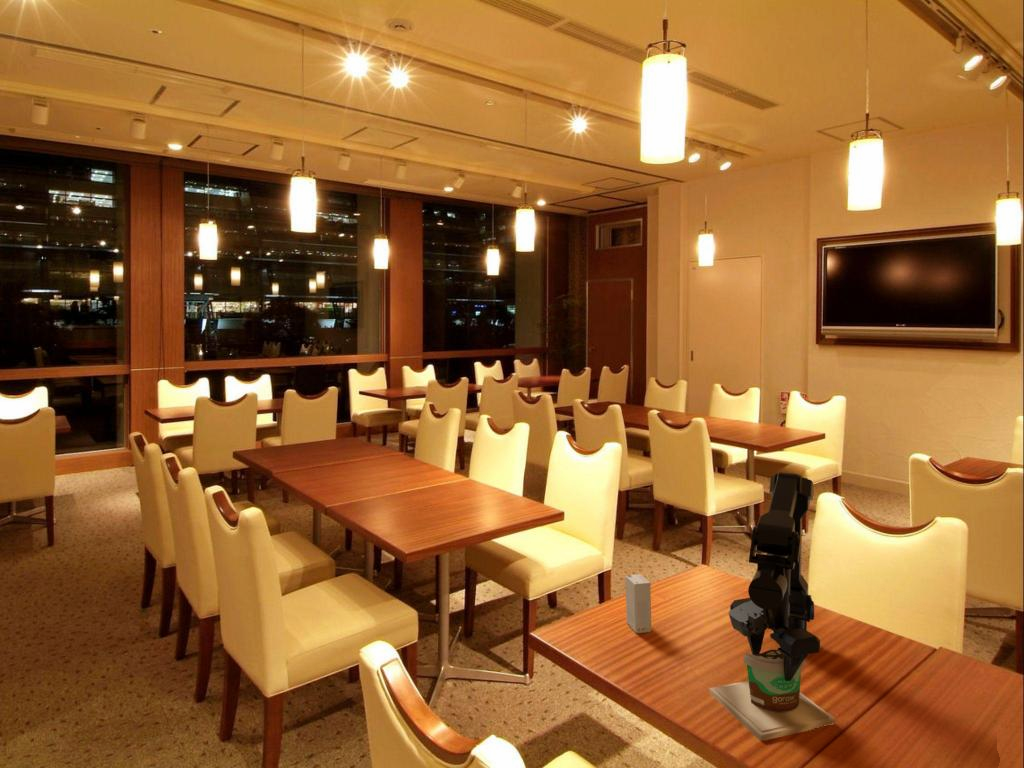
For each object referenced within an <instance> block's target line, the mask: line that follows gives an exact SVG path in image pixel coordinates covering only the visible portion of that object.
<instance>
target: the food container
mask: <svg viewBox="0 0 1024 768" xmlns="http://www.w3.org/2000/svg"><path fill="white" fill-rule="evenodd" d="M743 664H744V665H746V671H747V678H748V679H747V681H749V688H750V697H751V703H752V704H754V705H756V706H758V707H761V708H763V709H767V710H771V711H790V710H793V709H795V708H797V707H798V705H799V695H800V693H801V691H800V690H801V680H802V679H801V678H802V668H803V667H805V665H806V659H805V660H804V661H803V662H802V664H801V665H800V667H799V668H798V670H797V672H796V673H795V675H794V676H793V678H792V680H791V681H786V680H785V676H784V659H783V654H782V653H781V652H780V651H779V650H778V649H768V650H767V651H763V652H760V654H757V655H752V653H749V652H747V651H745V653H744V656H743Z"/></svg>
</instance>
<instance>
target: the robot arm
mask: <svg viewBox="0 0 1024 768" xmlns="http://www.w3.org/2000/svg"><path fill="white" fill-rule="evenodd" d="M769 481H770V482H769V490H768V491H769V495H770V496H772V497H771V500H770V504H769V508H768V511H767V512H766V513H764V514H762V515H760V516H759V518H758V520H757V524H756V526H755V525H754V526H753V528H752V533H751V542H750V550H749V556H748V563H751V564H756V565H757V566H756V567H757V569H756V571H755V573H754V576H753V578H752V579H751V581H750V583H749V586H748V588H747V592H748V597H746V598H741V599H740V598H739V599H734V600H733V601H732V602H731V604H730V606H729V607H730V608H729V609H730V610H729V611H728V613H727V614H728V616H729V620H730V623H731V626H732V628H733V630H735V631H737V632H739V633H740V634H741V635H742V636H743V637H746V638H747V641H748V644H749V647H750V650H751V654H752V655H757V654H761V650H762V647H763V646H762V645H763V642H764V638H765V633H766V630H767V629H768V630H771V631H773V632H772V633H770V634H769V636H770V637H771V638H772V639H774V640H775V641H777V643H778V645H779V647H777V650H779V651H780V652H781V653H782V654H783V659H784V676H785V680H786V681H791V680H792V678H793V676H794V675H795V673H796V672H797V670H798V668H799V667H800V665H801V664H802V662H803V661H804V660H805V661H806V658H807V657H808V656H809V655H813V654H815V653H820V652H821V651H820V650H821V639H820V638H819V637H818V636H816V635H815V634H813V633H812V632H810V631H808V630H807V625H808V623H809V622H810V623H811V621H813V620H815V602H814V601H813V598H812V594H809V583H808V582H807V580H806V579H805V577H804V576H803V575H802V547H803V545H802V543H803V542H802V539H803V538H802V537H803V536H802V535H803V517H804V516H805V514H806V513H807V512H808V511H809V507H810V505H811V504H810V503H811V501H813V500H814V491H815V489H814V488H815V485H814V482H813V480H811V479H809V478H808V477H803V476H802V475H800V474H799V473H795V472H794V473H793V472H792V473H791V472H783V471H780V472H776V473H775V475H771V476H770V480H769ZM756 551H757V552H759V553H756ZM763 553H764V554H763Z"/></svg>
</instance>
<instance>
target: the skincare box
mask: <svg viewBox="0 0 1024 768" xmlns="http://www.w3.org/2000/svg"><path fill="white" fill-rule="evenodd" d="M651 584H652V583H651V582H650V581H649V580H648V579H647V578H645V577H644V576H643V575H642V574H640V573H639V574H630V575H625V605H626V607H625V609H626V610H625V611H626V612H625V613H626V614H625V615H626V624H627V625H628V624H629V625H628V626H629V627H630V628H631V629H632V630H633V632H634V633H635V634H643V633H651V632H652V601H651V600H652V599H651V597H652V595H651V594H652V593H651V591H652V590H651Z"/></svg>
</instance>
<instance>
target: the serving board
mask: <svg viewBox="0 0 1024 768" xmlns="http://www.w3.org/2000/svg"><path fill="white" fill-rule="evenodd" d="M708 693H709V695H711V696H712V697H713V698H714V699H715V700H716V701H717V702H718V703H719V704H720V705H721V706H723V708H725V709H726V711H728V712H729V713H730V714H731V715H732V716H733V717H734V718H735V719H736V720H737V721H738V722H739V723H741V724H742V725H743V726H744V728H746V729H747V730H748V731H749V732H750V733H751V734H752V735H753V736H754V737H755V738H756V739H757V740H759V741H760V742H762V741H768V740H773V739H777V738H781V737H786V736H790V735H794V734H798V733H804V732H809V731H813V730H815V729H814V728H818V727H821V726H824V725H828V724H832V723H835V724H836V718H835V717H834V716H832V715H831V714H830V713H829V712H827V711H825V710H824V709H823V708H822V707H820V706H819V705H818V704H816V703H815V702H814V701H812V700H811V699H810V698H808V697H807V696H806V695H804V694H803V693H802V692H800V695H799V705H798V707H797V708H795V709H793V710H790V711H771V710H767V709H763V708H761V707H758V706H756V705H754V704H752V703H751V697H750V688H749V680H745V681H744V680H743V681H739V682H734V683H729V684H723V685H718V686H713V687H709V689H708ZM812 729H813V730H812ZM818 729H819V728H818ZM808 730H809V731H808Z"/></svg>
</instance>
